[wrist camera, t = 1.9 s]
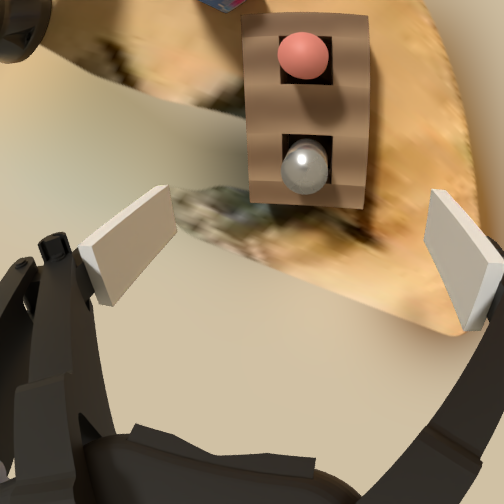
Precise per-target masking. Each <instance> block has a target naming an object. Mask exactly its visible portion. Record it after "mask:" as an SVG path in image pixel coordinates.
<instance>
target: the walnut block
mask: <svg viewBox="0 0 504 504" xmlns="http://www.w3.org/2000/svg"><path fill="white" fill-rule="evenodd" d="M241 27H242V47H243V68H244V88H245V109H246V129H247V149H248V170H249V191H250V203H271V204H291V205H309V206H325V207H340V208H353V209H363V205H364V195H365V184H366V172H367V158H368V141H369V117H370V45H369V23H368V16H365V15H354V14H341V13H319V12H284V13H262V14H248V15H241ZM298 32H306V33H311V34H313V35H315V36H317V37H318V38H320V39H321V40H322V41H323V42H324V44H331V73H332V85H311V84H287V72H286V71H285V70H284V69H283V68H282V67H281V65H280V63H279V60H278V48H279V46H280V44H281V42H282V41H283V40H284V39H285V38H286V37H287V36H289V35H291V34H293V33H298ZM288 134H310V135H330V136H331V168H330V169H329V168H328V177H327V181H326V183H325V185H324V186H323V187H322V188H321V189H320V190H319V191H317V192H315V193H313V194H308V195H303V194H298V193H295V192H293V191H292V190H290V189H289V188H288V187H287V186H286V185H285V184H284V182H283V180H282V177H281V166H282V163H283V161H284V159H285V157H286V155H287V153H288V151H289V147H288Z"/></svg>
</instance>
